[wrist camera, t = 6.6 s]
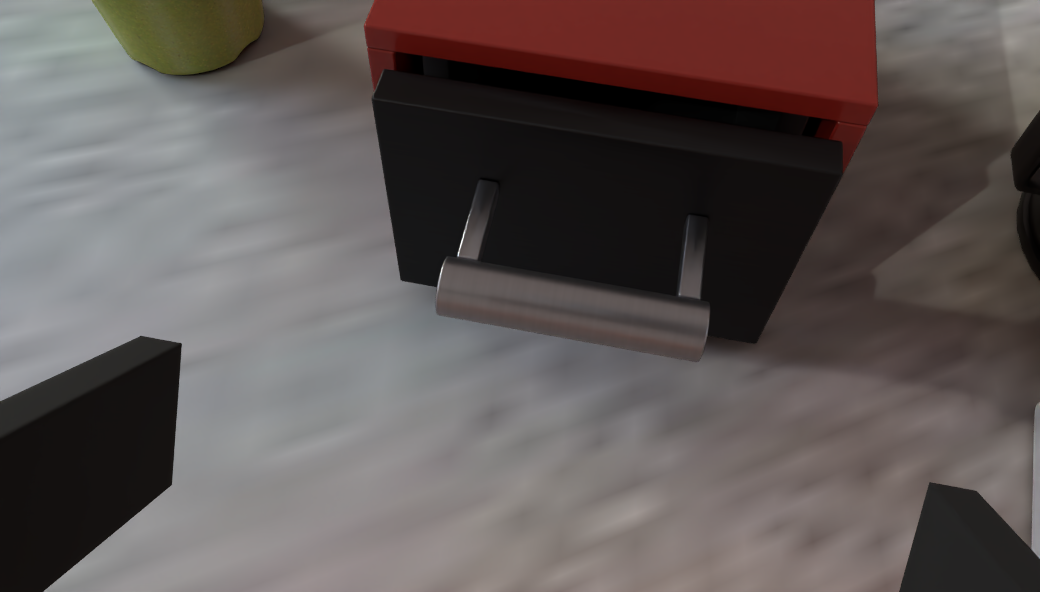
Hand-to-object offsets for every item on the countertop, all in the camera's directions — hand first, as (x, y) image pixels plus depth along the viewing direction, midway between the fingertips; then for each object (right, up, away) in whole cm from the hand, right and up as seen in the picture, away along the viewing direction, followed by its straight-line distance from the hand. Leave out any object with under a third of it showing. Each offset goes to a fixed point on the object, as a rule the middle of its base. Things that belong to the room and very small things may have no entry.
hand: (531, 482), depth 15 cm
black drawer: (+3, +7, +18) cm, 19 cm away
